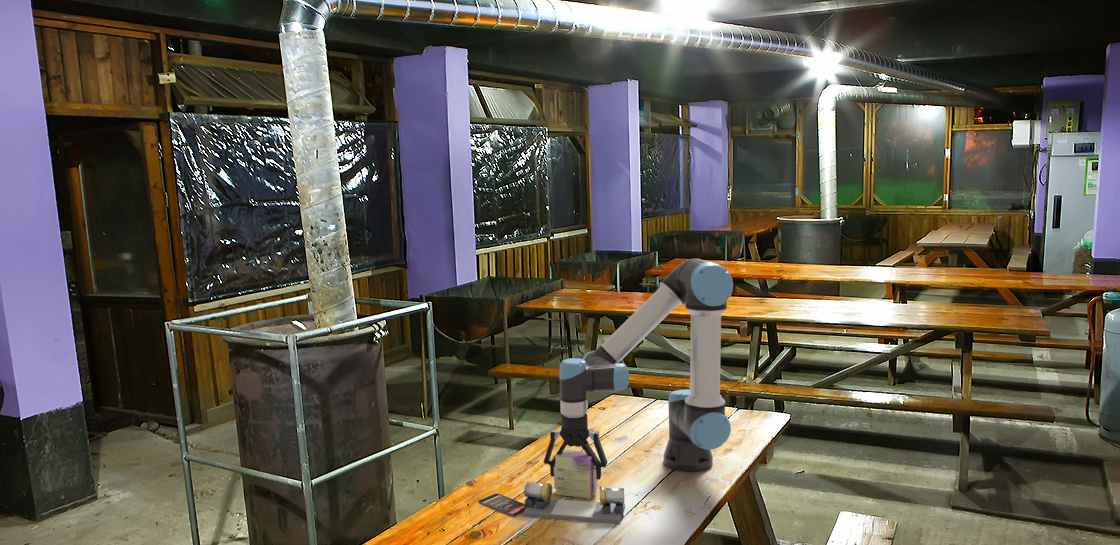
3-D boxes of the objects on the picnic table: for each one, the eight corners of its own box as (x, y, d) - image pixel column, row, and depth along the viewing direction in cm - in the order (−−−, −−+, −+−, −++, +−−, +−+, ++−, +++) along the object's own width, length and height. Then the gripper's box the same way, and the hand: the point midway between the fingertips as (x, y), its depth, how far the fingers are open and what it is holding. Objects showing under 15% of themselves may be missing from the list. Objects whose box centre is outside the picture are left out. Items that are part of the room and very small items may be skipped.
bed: (624, 507, 208) (624, 503, 208) (619, 523, 198) (619, 519, 198) (532, 500, 214) (532, 497, 214) (523, 516, 204) (523, 512, 204)
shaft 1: (552, 506, 210) (552, 480, 209) (545, 513, 205) (545, 487, 204) (531, 503, 212) (530, 477, 211) (524, 510, 208) (523, 484, 207)
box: (596, 491, 219) (595, 451, 217) (590, 499, 214) (589, 458, 212) (562, 487, 222) (561, 448, 221) (555, 495, 217) (554, 455, 216)
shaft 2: (624, 509, 206) (623, 483, 205) (624, 517, 202) (624, 490, 201) (600, 509, 207) (599, 483, 206) (600, 517, 202) (599, 491, 201)
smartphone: (513, 516, 204) (477, 501, 214) (513, 519, 204) (477, 503, 214) (533, 507, 209) (496, 492, 219) (533, 509, 209) (496, 495, 219)
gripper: (616, 411, 216) (618, 485, 219) (537, 408, 221) (540, 480, 224) (612, 419, 209) (614, 496, 212) (530, 416, 214) (533, 491, 217)
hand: (576, 488), depth 218 cm, fingers closed on box, 11 cm apart
